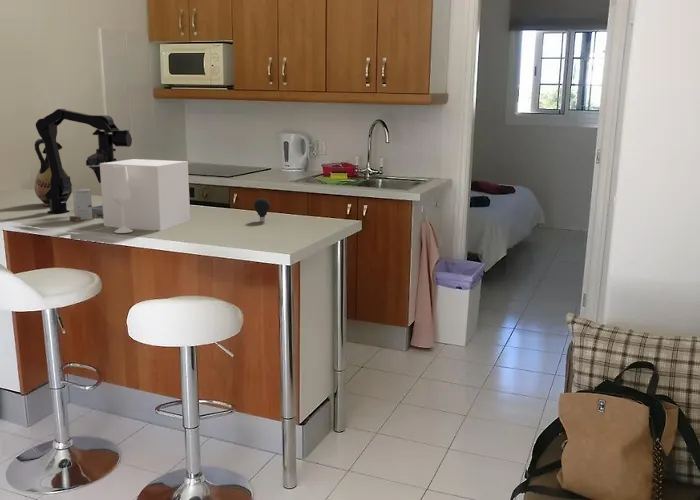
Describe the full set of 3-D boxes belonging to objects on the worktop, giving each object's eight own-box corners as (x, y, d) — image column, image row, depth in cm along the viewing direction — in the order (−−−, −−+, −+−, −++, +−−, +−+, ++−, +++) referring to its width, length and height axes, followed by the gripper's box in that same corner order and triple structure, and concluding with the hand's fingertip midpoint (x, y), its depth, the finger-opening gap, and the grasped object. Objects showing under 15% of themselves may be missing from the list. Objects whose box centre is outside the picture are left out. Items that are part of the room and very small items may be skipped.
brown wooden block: (69, 220, 271) (69, 216, 270) (88, 216, 279) (88, 213, 279) (78, 221, 269) (78, 217, 268) (97, 217, 277) (97, 214, 277)
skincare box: (77, 220, 270) (75, 190, 268) (74, 219, 274) (71, 189, 271) (93, 219, 274) (91, 189, 271) (89, 217, 277) (87, 188, 275)
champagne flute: (113, 230, 253) (109, 165, 247) (132, 229, 255) (128, 165, 250) (115, 233, 247) (110, 167, 241) (134, 232, 249) (130, 167, 244)
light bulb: (273, 221, 273) (272, 197, 271) (266, 224, 267) (265, 199, 265) (258, 220, 275) (258, 196, 273) (251, 223, 269) (251, 198, 267)
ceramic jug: (60, 201, 318) (55, 137, 312) (79, 204, 310) (74, 138, 303) (25, 205, 305) (19, 138, 298) (44, 209, 296) (38, 140, 290)
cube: (190, 222, 273) (187, 161, 268) (160, 231, 253) (157, 166, 248) (137, 218, 280) (133, 158, 275) (104, 227, 260) (99, 163, 255)
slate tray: (87, 214, 284) (86, 207, 283) (112, 210, 296) (112, 203, 295) (111, 217, 278) (110, 210, 277) (136, 212, 290) (136, 206, 289)
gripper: (74, 146, 278) (77, 184, 281) (107, 148, 269) (109, 187, 273) (95, 144, 287) (98, 181, 291) (128, 146, 279) (130, 184, 282)
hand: (108, 183), depth 284 cm, fingers open, 9 cm apart
